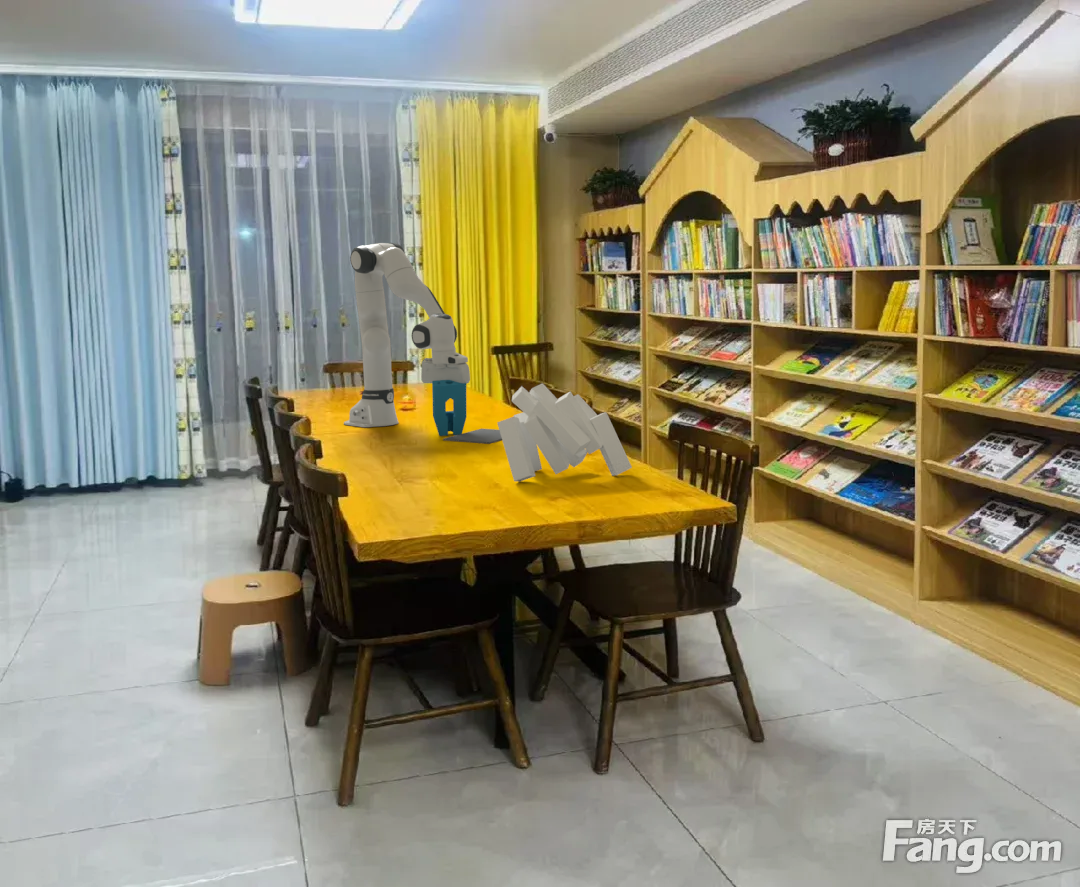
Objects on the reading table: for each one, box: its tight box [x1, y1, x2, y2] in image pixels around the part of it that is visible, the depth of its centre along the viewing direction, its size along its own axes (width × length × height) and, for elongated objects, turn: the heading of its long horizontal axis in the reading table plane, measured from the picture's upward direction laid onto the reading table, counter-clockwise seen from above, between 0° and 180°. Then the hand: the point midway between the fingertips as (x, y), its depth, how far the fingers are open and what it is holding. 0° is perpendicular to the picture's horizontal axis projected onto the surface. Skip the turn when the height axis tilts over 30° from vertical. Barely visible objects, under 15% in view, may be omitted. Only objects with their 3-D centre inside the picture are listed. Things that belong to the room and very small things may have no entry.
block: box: [431, 380, 467, 437], centre depth 383 cm, size 12×5×20 cm, turn 102°
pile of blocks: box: [497, 383, 633, 482], centre depth 304 cm, size 35×30×35 cm
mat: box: [442, 428, 502, 445], centre depth 379 cm, size 20×24×1 cm
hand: (446, 395), depth 385 cm, fingers closed
